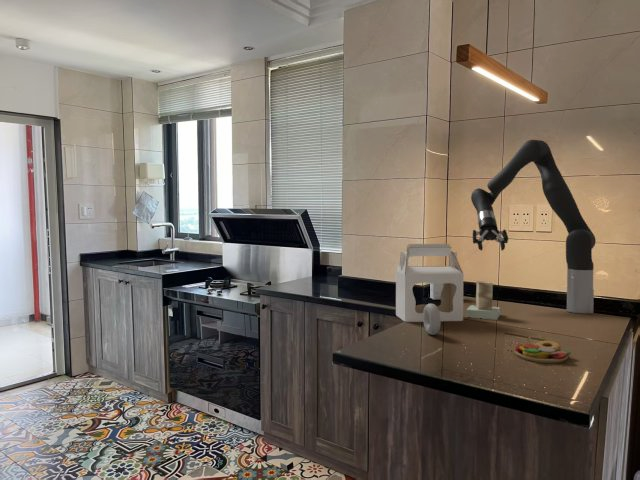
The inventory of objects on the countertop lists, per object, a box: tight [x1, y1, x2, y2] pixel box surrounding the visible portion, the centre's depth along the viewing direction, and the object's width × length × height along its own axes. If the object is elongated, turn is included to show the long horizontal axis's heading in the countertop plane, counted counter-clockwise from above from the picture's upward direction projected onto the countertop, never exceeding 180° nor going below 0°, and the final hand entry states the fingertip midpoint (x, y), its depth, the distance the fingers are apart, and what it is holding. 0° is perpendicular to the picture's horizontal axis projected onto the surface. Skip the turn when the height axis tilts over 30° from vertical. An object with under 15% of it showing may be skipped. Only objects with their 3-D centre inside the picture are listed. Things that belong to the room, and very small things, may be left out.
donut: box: [422, 303, 442, 336], centre depth 151 cm, size 10×4×10 cm, turn 5°
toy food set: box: [514, 340, 571, 364], centre depth 126 cm, size 13×13×3 cm
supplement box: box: [429, 283, 444, 301], centre depth 227 cm, size 9×9×15 cm
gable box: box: [395, 243, 464, 323], centre depth 178 cm, size 22×13×28 cm, turn 95°
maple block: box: [475, 280, 494, 310], centre depth 182 cm, size 5×5×10 cm
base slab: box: [465, 304, 501, 321], centre depth 183 cm, size 11×11×4 cm
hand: (492, 249), depth 200 cm, fingers open, 8 cm apart
